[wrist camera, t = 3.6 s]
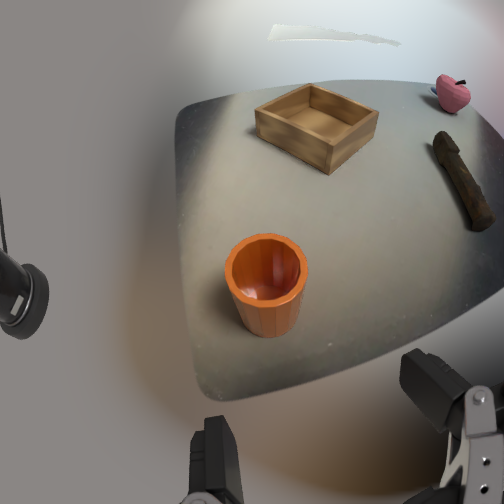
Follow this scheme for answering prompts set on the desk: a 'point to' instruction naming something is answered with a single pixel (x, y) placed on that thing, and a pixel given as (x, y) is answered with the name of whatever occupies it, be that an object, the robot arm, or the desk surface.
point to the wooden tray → (316, 125)
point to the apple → (452, 93)
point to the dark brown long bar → (463, 182)
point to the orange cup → (267, 282)
